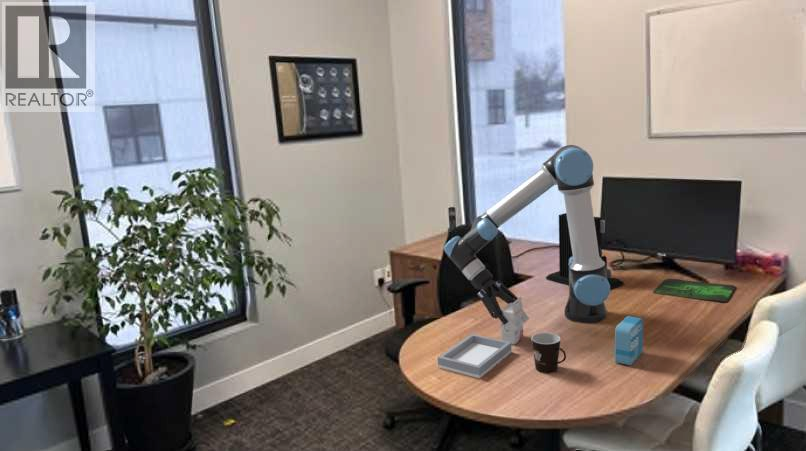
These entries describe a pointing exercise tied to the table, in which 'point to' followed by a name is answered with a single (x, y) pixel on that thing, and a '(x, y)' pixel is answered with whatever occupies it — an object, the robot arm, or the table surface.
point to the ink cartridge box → (516, 317)
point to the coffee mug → (546, 352)
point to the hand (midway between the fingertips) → (520, 325)
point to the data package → (628, 340)
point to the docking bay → (474, 355)
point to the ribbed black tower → (566, 253)
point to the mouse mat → (695, 290)
